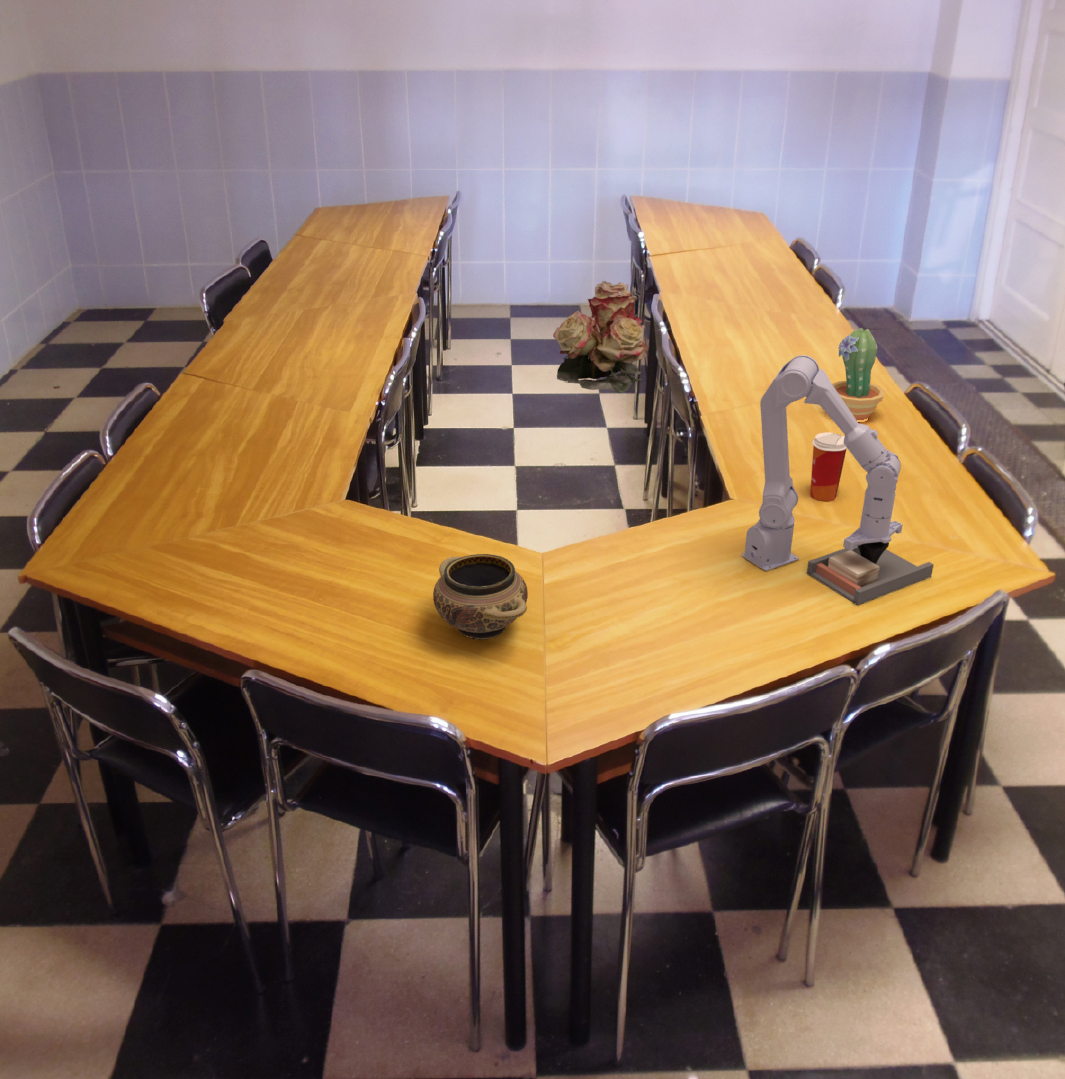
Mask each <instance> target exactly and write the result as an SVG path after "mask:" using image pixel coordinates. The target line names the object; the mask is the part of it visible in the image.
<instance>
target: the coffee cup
mask: <svg viewBox="0 0 1065 1079" xmlns="http://www.w3.org/2000/svg"><path fill="white" fill-rule="evenodd" d="M844 437H845V435H841V434H838V433H835V432H826V431H825V432H820V433H818V434H816V435H815V436H814V439H813V440H812V441H811V442H812V446H813V447H812V448H813V449H812V459H811V460H812V462H811V476H810V477H811V478H810V479H811V480H810V496H811V498H812V499H813V500H815V501H819V502H831V501H834V500H836V498H837V496H838V490H839V486H840V481H841V476H842V473H843V466H844V464H845V463H844V462H845V458H846V452H847V449H848V448H847V447H846V446H845V445H844Z"/></svg>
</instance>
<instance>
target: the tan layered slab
mask: <svg viewBox="0 0 1065 1079" xmlns="http://www.w3.org/2000/svg"><path fill="white" fill-rule="evenodd" d="M828 563H829V564H828V567H829V568H830V569H832V570H833V571H835V572H837V573H838V574H840V575H842V576H843V577H845V578H847V579H848V580H850V581H852V582H853V583H855V584H857V585H858V586H860V587H864V586H867V585H869V584H872V583H875V582H877V581H878V574H879V571H880V569H879V568H880V566H878V565H876V564H874V563H873V562H871V561H869V560H867V559H866V558H864V557H862V556H860V555H859V554H857V553H855V552H853V551H852V550H851V551H850V550H849V551H846V552H844V553H841V554H838V555H835V556H832V557H829V562H828Z"/></svg>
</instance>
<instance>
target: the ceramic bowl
mask: <svg viewBox="0 0 1065 1079" xmlns="http://www.w3.org/2000/svg"><path fill="white" fill-rule="evenodd" d="M438 568H439V570H438V571H439V572H438V573H439V576H440V577H439V578H438V579H437V581H436V583H435V584H434V588H433V591H432V598H433V599H432V600H433V604H434V607H435V609H436V611H437V613H438V614H439V616H440V617H441V618H442V619H443V621H444V622H446V623H447V624H449V625H450V626H452V627H454V628H456V629H457V630H458V632H459V633H460V634H461V635H462V634H463V635H465V636H468V637H471V638H470V639H472V638H475V639H474V640H479V639H481V640H488V638H490V639H493V638H492V637H494V638H496V637H498V636H500V635H501V634H502V633H503V632H504V631H506V627H507V626H509V625H511V624H512V623H513V622H514V621H516V619H518V618H520V617H522V616H524V614H525V613H526V612H527V610H528V606H527V601H528V598H529V597H528V596H529V594H528V593H529V592H528V587H527V583H526V582H525V580H524V578H523V577H522V576H521V574H520V573H518V572H517V571H516V569H515V565H514V564H513V562H512V561H511V560H509V559H507V558H505V557H503V556H501V555H496V554H489V553H477V554H471V555H465V556H462V557H461V556H451V557H447V558H446V559H444V560H443V561H442V562H441V563H440V565H439V567H438ZM463 635H462V636H463ZM465 636H464V637H465ZM468 637H467V638H468Z"/></svg>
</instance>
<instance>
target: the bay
mask: <svg viewBox="0 0 1065 1079" xmlns="http://www.w3.org/2000/svg"><path fill="white" fill-rule="evenodd" d="M846 551H849V550H848V549H846V548H845V547H843V548H841V549H839V550H836V551H833V552H829V553H828V554H824V555H822V556H819V557H816V558H813V559H811V560H808V562H807V568H806V574H807V575H809V576H810V577H812V578H814V579H815V580H816V581H818V582H820V583H821V584H823V585H824V586H826V588H827V587H828V588H829V589H830V590H832V591H833V592H836V593H837V594H839V595H840V596H842V597H843V598H845V599H846V600H848V601H850V602H852V603H853V604H854V605H856V606H859V605H863V604H865V603H867V602H870V601H872V600H874V599H877V598H880V597H883V596H886V595H889V594H890V593H893V592H896V591H898V590H901V589H904V588H906V587H909V586H911V585H914V584H916V583H919V582H922V581H925V580H927V579H929V578H931V577H932V574H933V569H934V563H932V562H930V561H928V562H925V563H922V564H920V565H915V564H914V563H912V562H910V561H909V560H906V559H904V558H903V557H902V556H899V555H898V554H896V553H895V552H893V551H890V550H889V549H888V548H887V549H886V550H885V551H884V552H883V553H882V555H881V556H880V558H879V559H878V561H877V563H876V565H878V566H880V568H879V569H880V571H879V574H878V581H877V582H875V583H872V584H869V585H867V586H864V587H860V586H858V585H857V584H855V583H853V582H852V581H850V580H848V579H847V578H845V577H843V576H842V575H840V574H838V573H837V572H835V571H833V570H832V569H830V568H829V567H828V564H829V563H828V562H829V557H832V556H835V555H838V554H841V553H844V552H846ZM852 551H853V552H855V553H857V554H859V555H860V556H861V554H860V551H859V548H858V546H856V547H854V549H853V550H852Z"/></svg>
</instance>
